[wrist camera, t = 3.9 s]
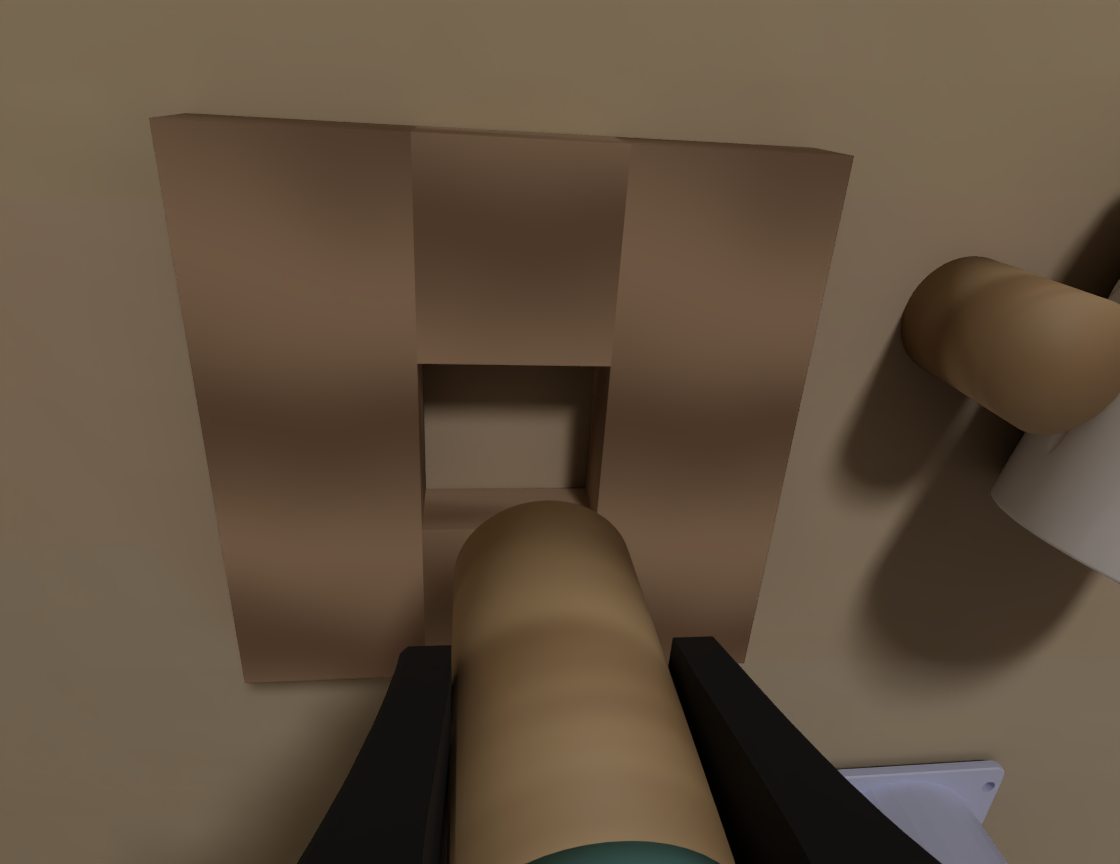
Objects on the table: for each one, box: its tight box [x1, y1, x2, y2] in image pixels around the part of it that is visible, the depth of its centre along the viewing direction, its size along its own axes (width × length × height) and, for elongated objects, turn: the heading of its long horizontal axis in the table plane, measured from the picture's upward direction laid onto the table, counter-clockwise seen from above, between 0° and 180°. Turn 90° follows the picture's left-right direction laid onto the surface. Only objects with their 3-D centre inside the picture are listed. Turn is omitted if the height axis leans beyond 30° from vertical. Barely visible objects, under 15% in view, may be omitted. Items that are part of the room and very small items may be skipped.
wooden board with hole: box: [149, 113, 854, 683], centre depth 18 cm, size 14×14×2 cm
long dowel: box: [447, 500, 735, 864], centre depth 10 cm, size 3×3×7 cm
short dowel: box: [901, 256, 1120, 435], centre depth 18 cm, size 3×3×4 cm
